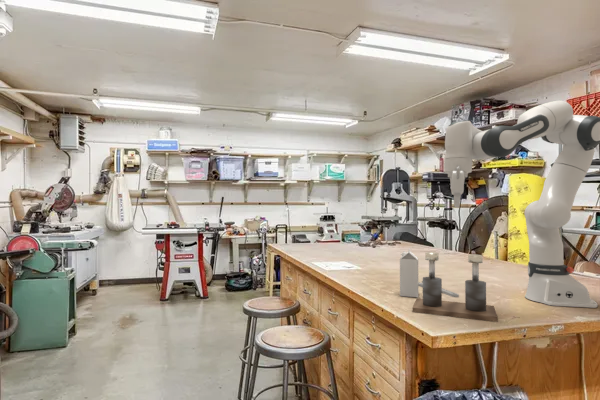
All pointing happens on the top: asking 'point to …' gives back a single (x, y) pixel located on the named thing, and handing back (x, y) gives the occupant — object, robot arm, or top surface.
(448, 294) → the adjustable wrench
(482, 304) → the press block
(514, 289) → the top surface
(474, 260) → the plunger
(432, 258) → the plunger
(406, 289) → the milk carton
